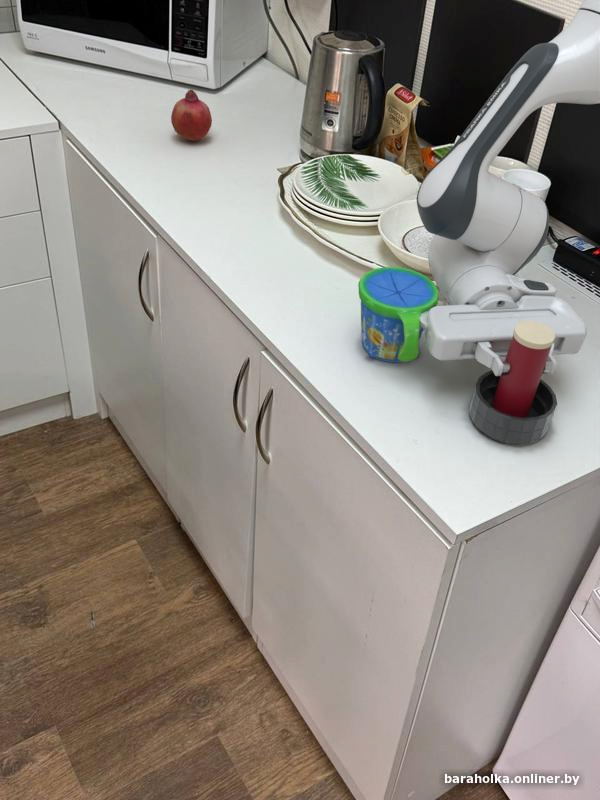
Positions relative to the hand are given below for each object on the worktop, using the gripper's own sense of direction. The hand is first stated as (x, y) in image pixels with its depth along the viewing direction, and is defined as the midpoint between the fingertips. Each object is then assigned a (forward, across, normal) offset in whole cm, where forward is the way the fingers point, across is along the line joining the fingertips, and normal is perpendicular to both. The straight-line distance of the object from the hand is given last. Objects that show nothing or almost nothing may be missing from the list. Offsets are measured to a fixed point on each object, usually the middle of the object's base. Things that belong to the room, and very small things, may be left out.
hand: (527, 370), depth 96 cm
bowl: (-1, 0, +9) cm, 9 cm away
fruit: (-90, -34, +9) cm, 96 cm away
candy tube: (-1, 0, +7) cm, 7 cm away
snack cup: (-17, -12, +9) cm, 23 cm away
